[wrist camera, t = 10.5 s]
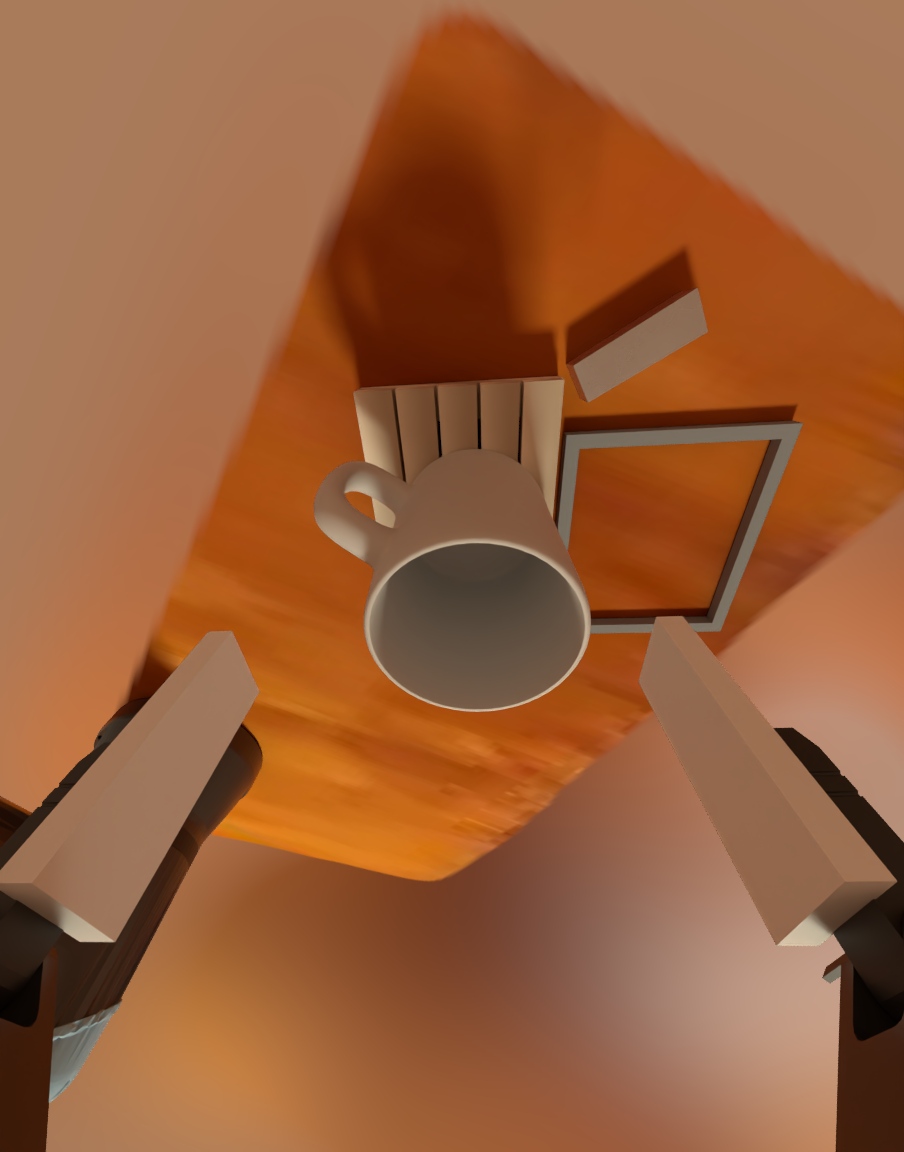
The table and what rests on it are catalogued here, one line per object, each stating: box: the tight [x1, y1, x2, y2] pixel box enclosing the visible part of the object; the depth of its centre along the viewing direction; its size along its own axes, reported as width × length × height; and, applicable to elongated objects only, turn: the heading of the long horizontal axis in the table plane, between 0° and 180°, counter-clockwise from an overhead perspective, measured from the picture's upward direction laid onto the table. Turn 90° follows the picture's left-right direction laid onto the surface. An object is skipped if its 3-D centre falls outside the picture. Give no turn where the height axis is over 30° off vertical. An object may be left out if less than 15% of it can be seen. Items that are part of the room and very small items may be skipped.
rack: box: [353, 376, 564, 528], centre depth 24 cm, size 11×13×2 cm
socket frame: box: [555, 421, 803, 633], centre depth 26 cm, size 13×15×1 cm
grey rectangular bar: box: [566, 288, 708, 402], centre depth 20 cm, size 6×2×2 cm, turn 122°
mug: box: [314, 449, 591, 712], centre depth 18 cm, size 12×8×11 cm
